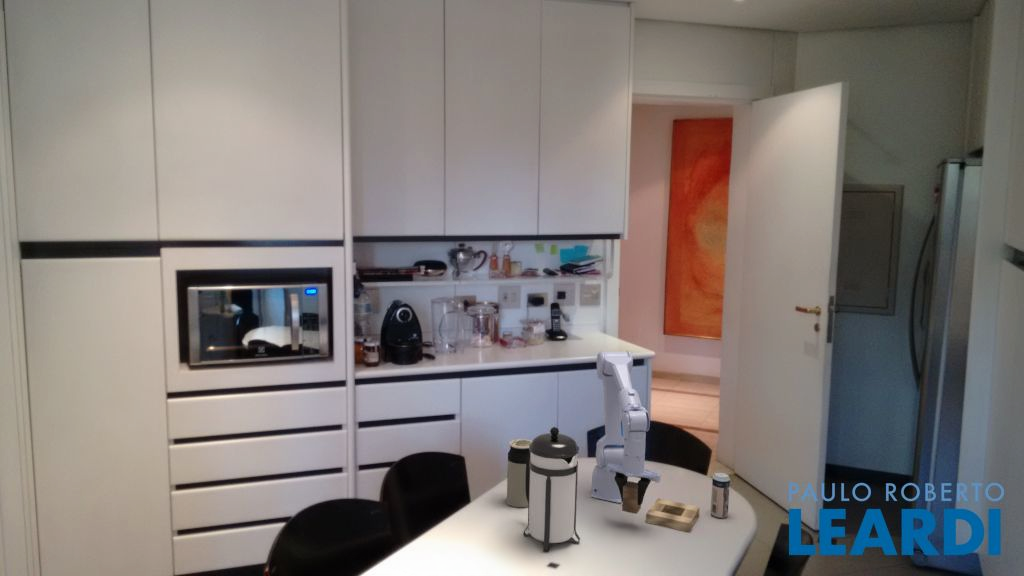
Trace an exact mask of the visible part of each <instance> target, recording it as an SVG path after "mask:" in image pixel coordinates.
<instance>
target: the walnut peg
mask: <svg viewBox="0 0 1024 576" xmlns="http://www.w3.org/2000/svg"><path fill="white" fill-rule="evenodd" d="M638 494H639V493H638V482H634V481H630V480H627V482H626V484H625V485H624V486H623V501H622V502H621V503H622V505H621V506H622V509H621V511H623V512H627V513H629V514H635V515H637V513H639V512H640V510H641V509H642V508H641V507H642V504H641V505H638Z"/></svg>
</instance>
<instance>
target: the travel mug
mask: <svg viewBox="0 0 1024 576" xmlns="http://www.w3.org/2000/svg"><path fill="white" fill-rule="evenodd" d="M532 441H533V440H530V439H525V438H518V439H513V440H510V441H509V442H508V445H509V448H510V449H509V451H508V453H507V477H506V479H507V480H506V481H507V482H506V483H507V484H506V503H507V504H508V505H510V506H512V507H514V508H528V501H527V498H526V489H525V484H526V460H527V456H528V454H529V452H530V450H529V445H530V444H531V443H532Z"/></svg>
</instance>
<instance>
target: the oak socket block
mask: <svg viewBox="0 0 1024 576" xmlns="http://www.w3.org/2000/svg"><path fill="white" fill-rule="evenodd" d="M700 507H701V506H697V505H692V504H687V503H684V502H683V503H682V502H678V501H673V500H667V499H664V498H657V499H655V502H654V503H653V504H652V505H651V507H650V508H649V510H648V511H647V512H646V513H645V514H646V515H645V523H648V524H652V525H656V526H661V527H665V528H670V529H674V530H678V531H683V532H686V533H690V532H691V530H692V528H693V527H694V525H695V523H696V522H697V520H698V518H699V517H700Z"/></svg>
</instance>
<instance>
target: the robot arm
mask: <svg viewBox="0 0 1024 576" xmlns="http://www.w3.org/2000/svg"><path fill="white" fill-rule="evenodd" d="M633 367H634V359H633V355H632V353H631V352H630V351H629V350H626V351H602V350H600V351H599V352H598V353H597V355H596V375H597V378H598V379H599V380H601V381H602V385H603V401H604V402H603V403H604V404H603V405H604V431H605V434H604V435H603V436H602V437H601V438H600V439H598V440H597V441H596V451H595V461H596V465H594V467H593V470H592V474H591V475H592V476H591V494H590V498H595V499H599V500H604V501H608V502H614V503H618V504H621V503H623V486H624V485H625V484H626V482H627V481H629V480H628V479H629V478H637V479H639V480H638V481H637V483H638V493H639V494H638V505H641V506H642V504H643V501H644V498H645V494H646V492H647V490H648V487H649V485H650V484H651V482H654V483H656V484H657V483H660V481H661V473H660V472H655V471H652V470H649V469H647V468H645V460H646V456H645V455H646V438H647V437H646V436H647V433H646V432H648V431H649V430H650V425H651V421H650V415H649V411H648V410H647V409H646V408H645V407H643V405H642V402H641V399H640V395H639V392H638V391H637V390H636V389H634V388H633V384H632V379H631V373H632V370H633ZM621 413H622V415H621ZM621 416H622V417H621Z"/></svg>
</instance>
